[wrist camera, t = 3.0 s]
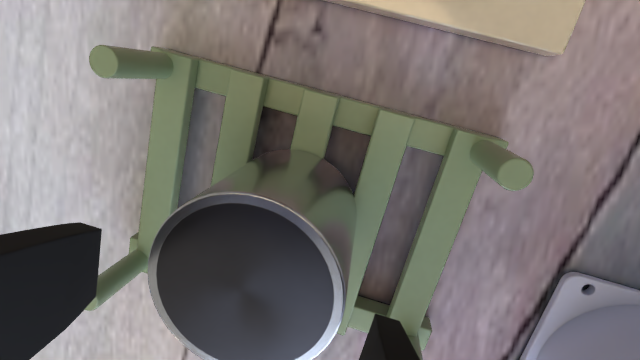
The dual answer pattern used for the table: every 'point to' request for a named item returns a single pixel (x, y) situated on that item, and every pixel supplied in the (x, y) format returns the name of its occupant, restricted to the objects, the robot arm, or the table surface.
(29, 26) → the table surface
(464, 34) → the hob
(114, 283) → the rack
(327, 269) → the pot
